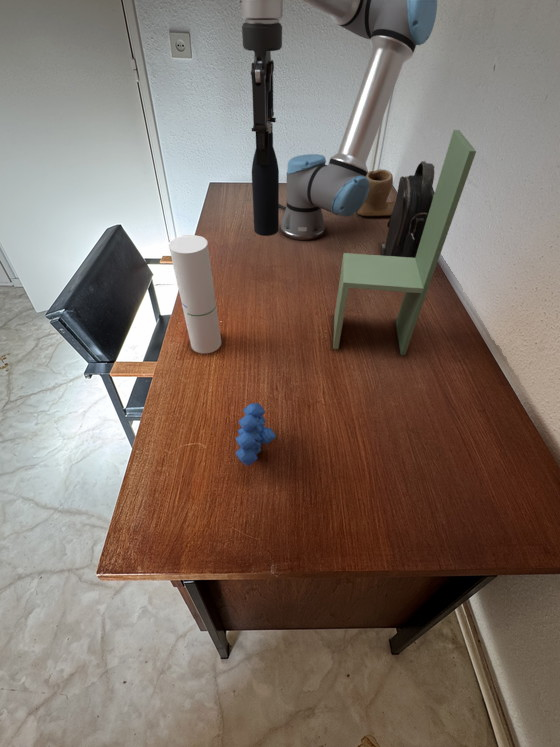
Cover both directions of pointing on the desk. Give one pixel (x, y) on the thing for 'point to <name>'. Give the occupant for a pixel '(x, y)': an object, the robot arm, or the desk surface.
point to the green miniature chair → (418, 270)
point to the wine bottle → (266, 187)
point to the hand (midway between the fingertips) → (264, 159)
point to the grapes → (252, 434)
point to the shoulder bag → (410, 212)
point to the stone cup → (378, 194)
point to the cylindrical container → (196, 291)
